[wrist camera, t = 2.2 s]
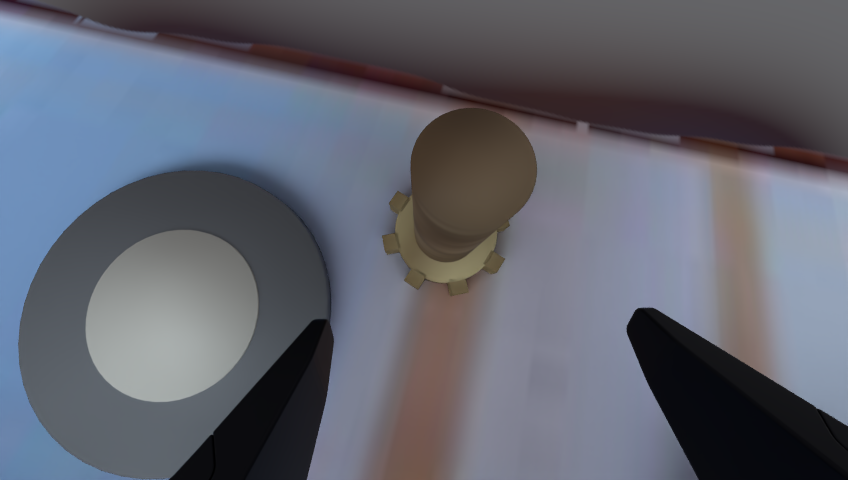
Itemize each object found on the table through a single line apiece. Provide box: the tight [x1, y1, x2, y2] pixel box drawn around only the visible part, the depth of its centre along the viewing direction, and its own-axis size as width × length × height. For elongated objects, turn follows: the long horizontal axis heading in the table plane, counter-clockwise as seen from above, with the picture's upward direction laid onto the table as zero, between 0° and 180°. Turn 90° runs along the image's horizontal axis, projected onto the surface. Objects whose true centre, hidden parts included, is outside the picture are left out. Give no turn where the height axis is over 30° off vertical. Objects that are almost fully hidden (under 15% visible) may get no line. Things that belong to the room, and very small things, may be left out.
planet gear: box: [382, 108, 537, 296], centre depth 16 cm, size 8×8×12 cm
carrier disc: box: [18, 171, 331, 479], centre depth 19 cm, size 18×18×1 cm
